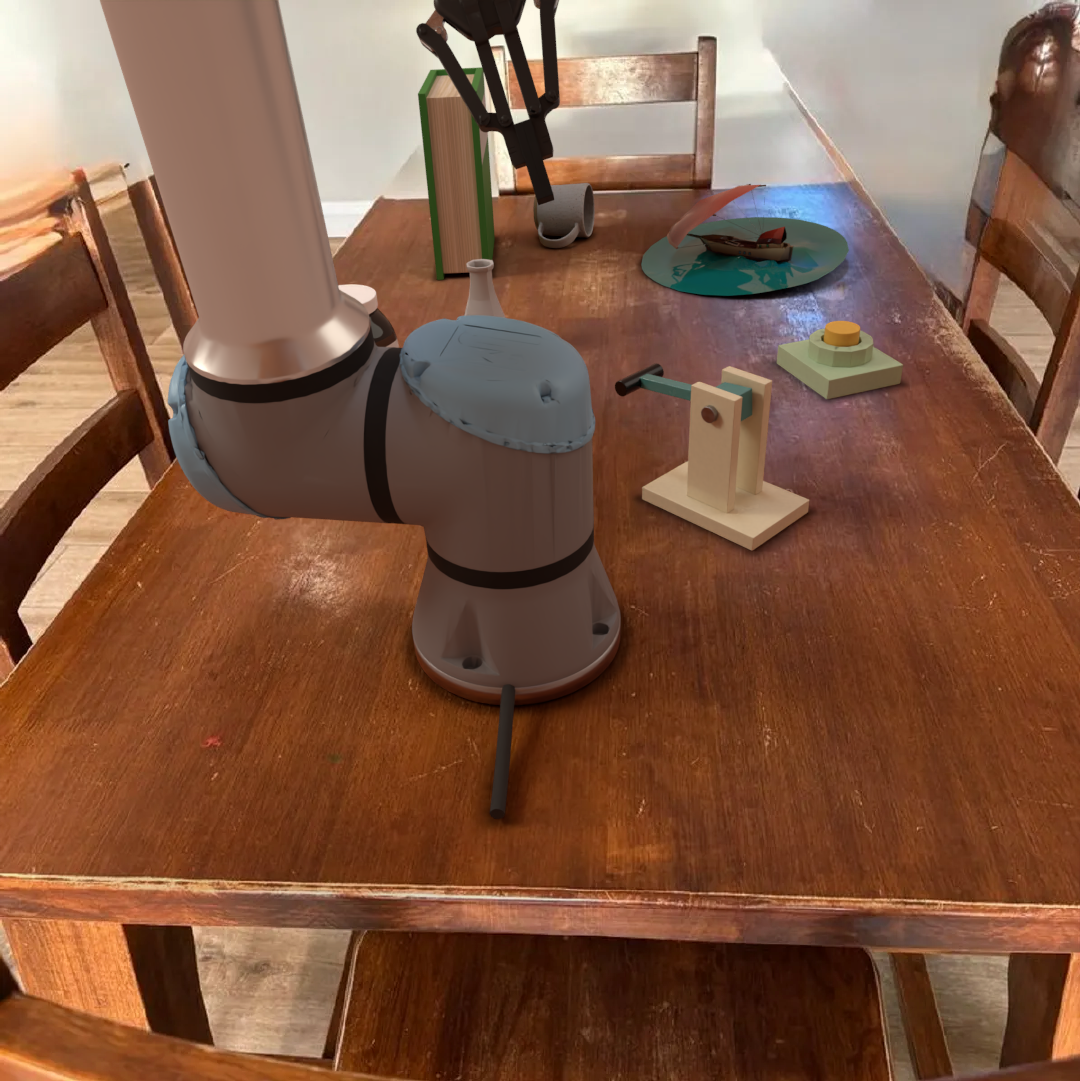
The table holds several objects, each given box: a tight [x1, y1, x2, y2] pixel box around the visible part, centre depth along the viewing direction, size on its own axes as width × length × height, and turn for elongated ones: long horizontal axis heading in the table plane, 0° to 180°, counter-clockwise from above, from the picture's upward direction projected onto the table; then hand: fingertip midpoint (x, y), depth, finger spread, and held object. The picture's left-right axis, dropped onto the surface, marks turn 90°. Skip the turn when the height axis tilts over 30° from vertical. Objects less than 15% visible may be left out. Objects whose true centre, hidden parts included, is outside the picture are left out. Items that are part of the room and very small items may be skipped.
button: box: [823, 320, 861, 347], centre depth 107 cm, size 4×4×2 cm
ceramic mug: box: [532, 182, 596, 249], centre depth 151 cm, size 11×8×8 cm
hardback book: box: [417, 66, 496, 281], centre depth 141 cm, size 18×7×24 cm, turn 0°
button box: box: [776, 327, 904, 400], centre depth 109 cm, size 10×9×4 cm
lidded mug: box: [338, 283, 400, 348], centre depth 106 cm, size 12×11×12 cm
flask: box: [463, 259, 507, 318], centre depth 118 cm, size 7×7×10 cm
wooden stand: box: [641, 365, 810, 552], centre depth 85 cm, size 12×8×12 cm, turn 44°
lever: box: [614, 362, 752, 421], centre depth 86 cm, size 12×5×2 cm, turn 44°
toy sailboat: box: [640, 183, 850, 297], centre depth 137 cm, size 28×28×11 cm
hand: (545, 199), depth 88 cm, fingers closed
